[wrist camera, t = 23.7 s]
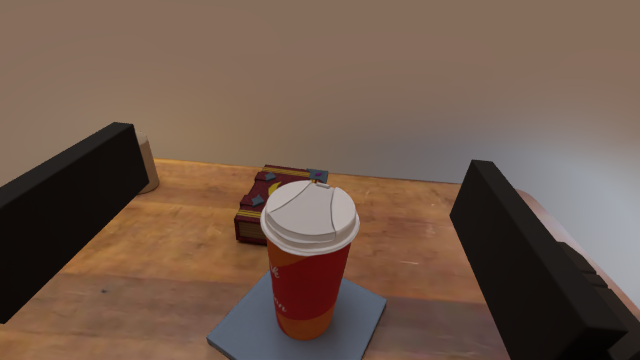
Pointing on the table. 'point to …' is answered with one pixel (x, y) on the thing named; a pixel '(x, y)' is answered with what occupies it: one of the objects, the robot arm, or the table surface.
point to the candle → (147, 162)
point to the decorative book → (259, 194)
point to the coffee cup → (307, 253)
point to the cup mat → (290, 354)
